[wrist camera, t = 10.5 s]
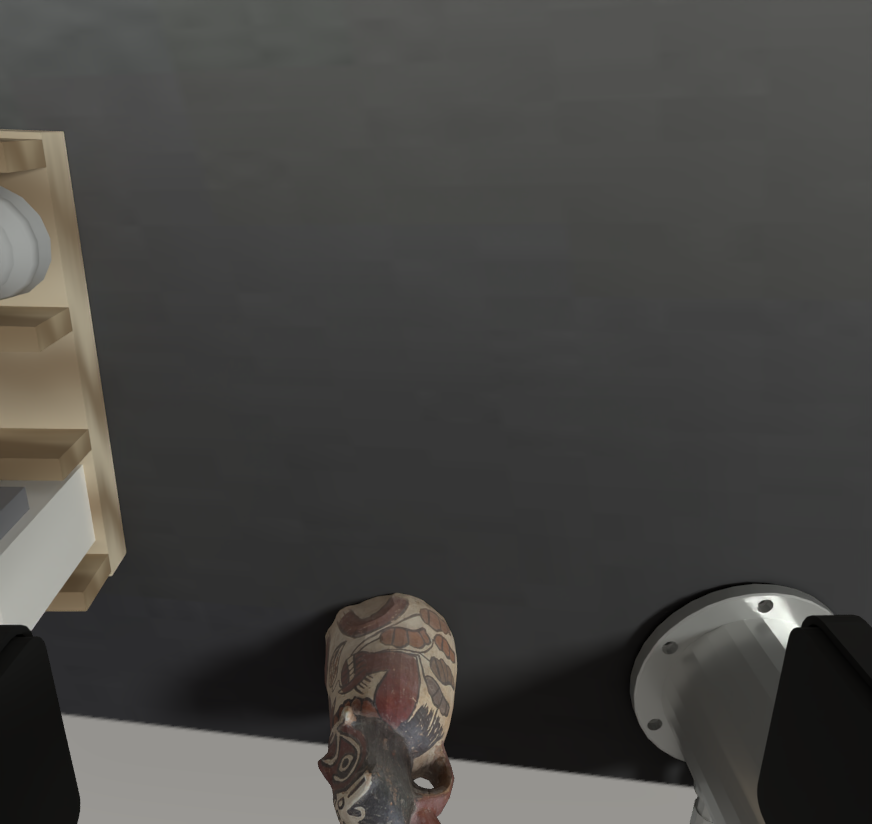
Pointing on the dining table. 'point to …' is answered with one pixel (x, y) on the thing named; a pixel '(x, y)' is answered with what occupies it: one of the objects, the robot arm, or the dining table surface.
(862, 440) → the dining table surface
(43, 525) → the white and grey block
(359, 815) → the figurine
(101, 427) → the wooden slotted rack
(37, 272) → the rook chess piece
